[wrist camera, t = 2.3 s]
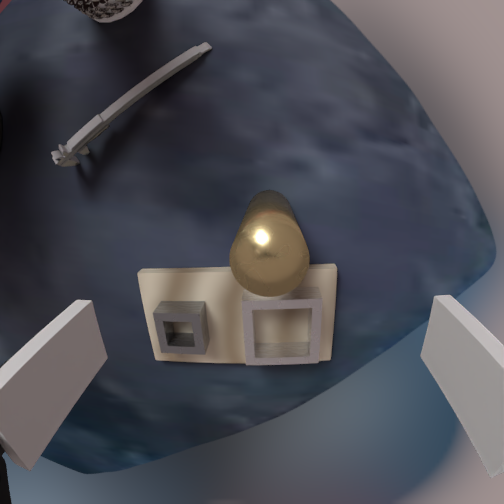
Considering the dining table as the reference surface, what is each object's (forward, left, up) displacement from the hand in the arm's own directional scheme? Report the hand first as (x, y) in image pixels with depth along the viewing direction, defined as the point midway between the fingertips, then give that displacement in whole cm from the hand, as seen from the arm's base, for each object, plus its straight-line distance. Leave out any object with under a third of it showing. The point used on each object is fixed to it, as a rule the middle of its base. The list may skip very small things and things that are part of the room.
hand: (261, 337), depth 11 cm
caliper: (-14, -14, -23) cm, 30 cm away
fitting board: (+11, -4, -23) cm, 26 cm away
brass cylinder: (-1, 0, -23) cm, 23 cm away
